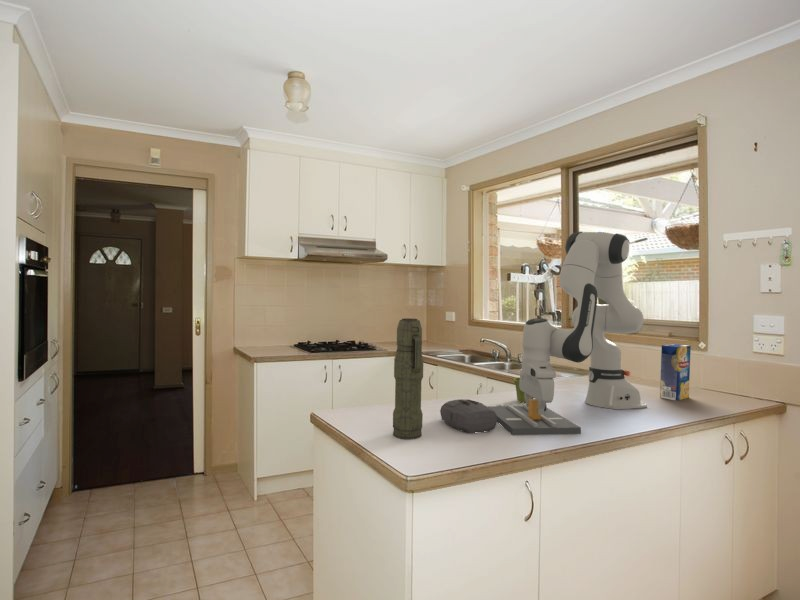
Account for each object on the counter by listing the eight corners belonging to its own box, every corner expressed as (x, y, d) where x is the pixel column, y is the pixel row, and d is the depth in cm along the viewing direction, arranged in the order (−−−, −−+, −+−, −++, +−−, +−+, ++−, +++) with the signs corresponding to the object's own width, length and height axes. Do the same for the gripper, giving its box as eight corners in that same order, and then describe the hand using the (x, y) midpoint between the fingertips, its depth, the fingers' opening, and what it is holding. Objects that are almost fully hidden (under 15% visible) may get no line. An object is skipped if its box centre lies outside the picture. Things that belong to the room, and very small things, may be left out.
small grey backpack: (503, 430, 158) (468, 415, 176) (504, 404, 158) (468, 391, 176) (462, 436, 151) (430, 419, 169) (463, 408, 151) (431, 395, 169)
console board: (543, 411, 183) (544, 399, 183) (580, 433, 156) (581, 420, 155) (485, 411, 181) (485, 400, 180) (512, 435, 153) (512, 421, 153)
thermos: (407, 442, 143) (409, 320, 142) (384, 432, 153) (386, 318, 152) (431, 437, 149) (433, 319, 148) (407, 428, 158) (410, 317, 157)
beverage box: (688, 397, 212) (690, 345, 211) (676, 400, 205) (678, 347, 205) (672, 394, 217) (673, 344, 217) (659, 397, 211) (661, 345, 210)
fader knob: (537, 417, 166) (537, 398, 166) (540, 419, 163) (541, 400, 163) (527, 417, 165) (528, 398, 165) (531, 419, 162) (531, 400, 162)
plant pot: (528, 405, 192) (528, 382, 192) (508, 400, 200) (508, 379, 199) (542, 401, 199) (542, 380, 198) (522, 397, 206) (522, 376, 205)
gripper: (515, 363, 174) (514, 402, 174) (538, 373, 153) (537, 418, 154) (532, 363, 174) (531, 402, 175) (558, 373, 154) (557, 418, 154)
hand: (534, 410), depth 164 cm, fingers open, 8 cm apart
